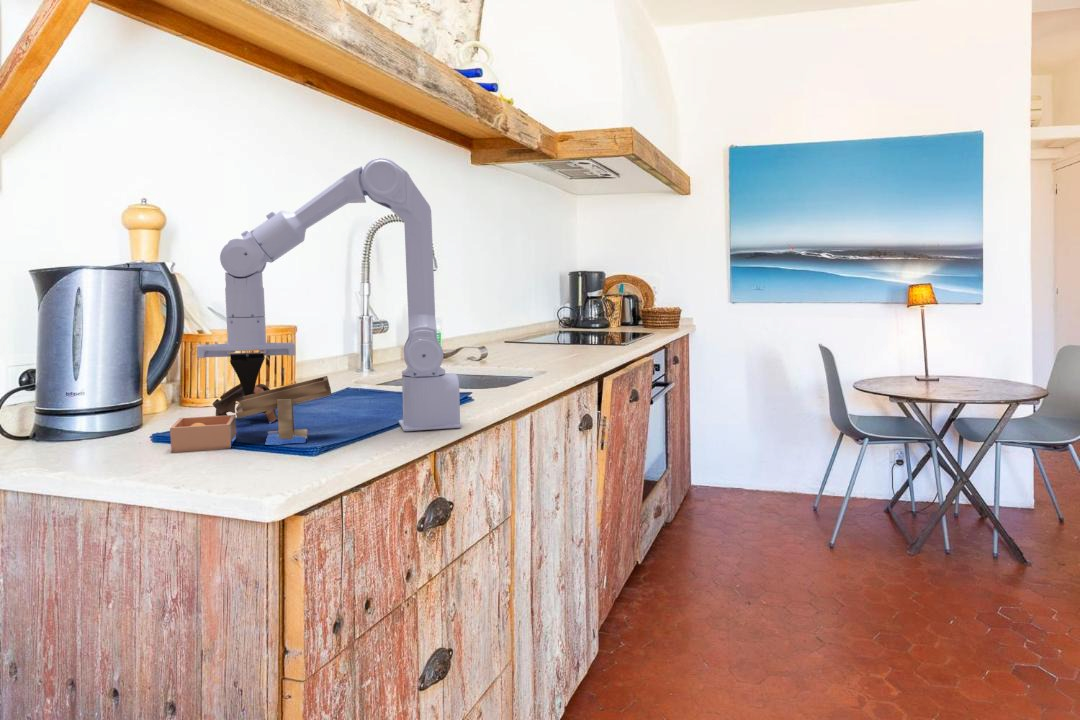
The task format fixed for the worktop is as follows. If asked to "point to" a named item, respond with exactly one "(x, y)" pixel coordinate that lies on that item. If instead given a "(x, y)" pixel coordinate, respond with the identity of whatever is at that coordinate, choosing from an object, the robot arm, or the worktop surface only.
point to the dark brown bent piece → (237, 395)
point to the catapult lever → (283, 396)
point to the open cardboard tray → (203, 433)
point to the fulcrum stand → (287, 421)
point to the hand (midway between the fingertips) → (249, 401)
